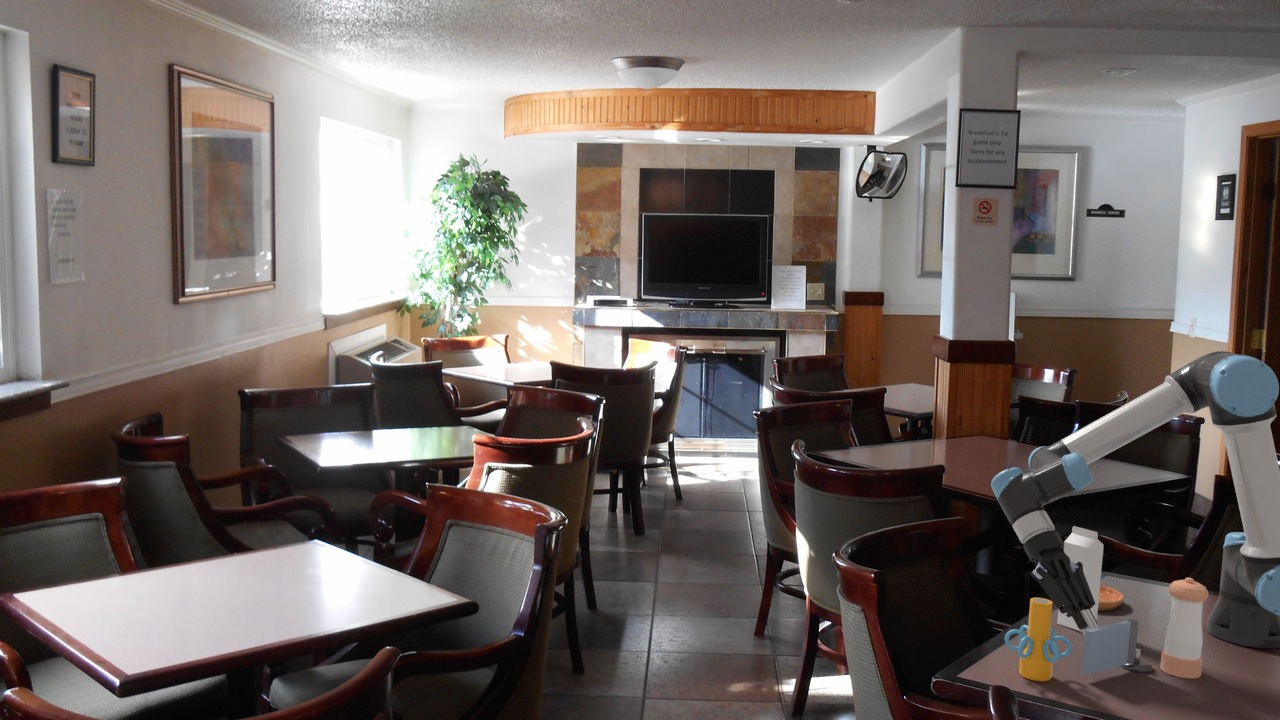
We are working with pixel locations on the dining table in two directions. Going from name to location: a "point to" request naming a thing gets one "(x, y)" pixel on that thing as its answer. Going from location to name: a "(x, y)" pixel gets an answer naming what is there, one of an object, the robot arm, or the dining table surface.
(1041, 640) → the tube with blue loops
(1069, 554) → the milk
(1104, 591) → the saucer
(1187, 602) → the pepper shaker
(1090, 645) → the light blue rectangular panel
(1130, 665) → the shiny grey rounded piece
